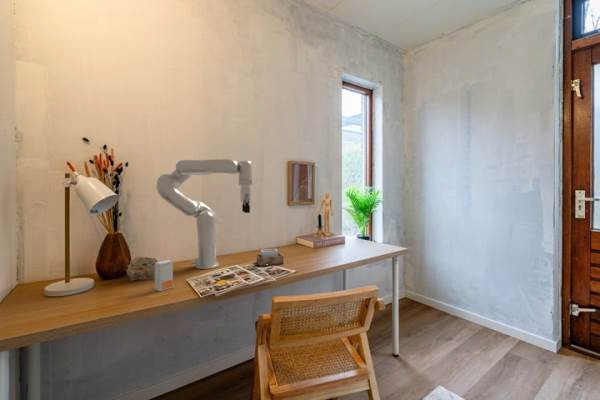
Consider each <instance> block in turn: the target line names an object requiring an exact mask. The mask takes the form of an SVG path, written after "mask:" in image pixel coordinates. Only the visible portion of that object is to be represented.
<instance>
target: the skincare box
mask: <svg viewBox="0 0 600 400" xmlns="http://www.w3.org/2000/svg"><path fill="white" fill-rule="evenodd" d="M173 263H174V261H173V260H169V259H165V260H162V261H161V260H160V261H157V262H156V263H155V279H154V291H158V292H163V291H166V290H169V289H173V288H174V264H173Z"/></svg>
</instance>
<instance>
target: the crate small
mask: <svg viewBox="0 0 600 400" xmlns="http://www.w3.org/2000/svg"><path fill="white" fill-rule="evenodd" d="M278 253H279V250H278V249H277V248H267V249H266V248H264V249H260V254H261V258H265V257H277V256H278Z"/></svg>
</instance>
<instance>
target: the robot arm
mask: <svg viewBox="0 0 600 400" xmlns="http://www.w3.org/2000/svg"><path fill="white" fill-rule="evenodd" d="M252 164H253V162H251V161H250V160H240V161H235V159H231V158H230V159H229V158H228V159H227V158H223V159H222V158H221V159H220V158H219V159H218V158H217V159H181V160H178V161H177V162H176V164H175V170H174V171H172V172H171V173H165V174H161V175H160V176H159V177H158V178H157V180H156V190H157V193H158V194H159V196H160V197H161V198H162V199H163V200H164V201H165V202H167V203H168V204H170V205H171V206H173V208H175V209H176V210H178V211H179V212H181V213H182V214H184V215H185V216H186V217H193V218H194V219H196V229H197V253H198V254H197V255H198V256H197V259H190V261H189V264H190V265H191V264H192V265H195V268H196V269H199V270H208V269H213V268H217V267H218V266H220V262H218V261H217V244H216V240H217V239H216V222H217V221H218V215H217V213H216V212H215V211H214V210H213V209H211V208H210V207H209V206H207V205H206V204H205V203H203V202H201V201H199V199H195V198H194V199H193V198H190V197H189V196H187V195H185V194H184V193H182V192H181V191H179V190H178V188H180V187H181V186H182V185H183V184H184V183H185V182H187V180H189V178H190V177H191V176H204V175H205V176H209V175H212V174H213V175H214V174H229V175H236V174H238V185H239V186H240V202H241V203H242V207H241V208H242V212H243V213H245V214H250V213H251V206H250V205H251V204H250V202H251V186H252V185H253V165H252Z"/></svg>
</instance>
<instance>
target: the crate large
mask: <svg viewBox="0 0 600 400" xmlns="http://www.w3.org/2000/svg"><path fill="white" fill-rule="evenodd" d="M256 263H257V265H258V264H259V265H266V264H268V265H266V266H277V265H283V264H284V255H283V254H281V252H278V256H277V257H265V258H261V253H259V254H256ZM259 265H258V266H259Z"/></svg>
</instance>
